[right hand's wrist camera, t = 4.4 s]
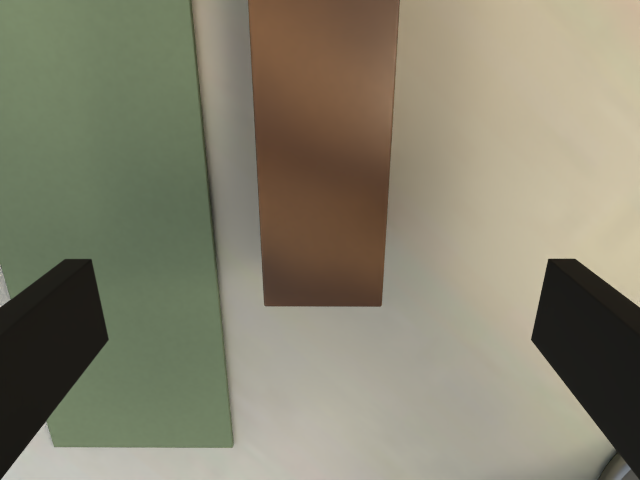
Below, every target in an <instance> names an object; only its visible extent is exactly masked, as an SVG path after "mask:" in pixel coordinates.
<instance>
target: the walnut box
mask: <svg viewBox="0 0 640 480" xmlns="http://www.w3.org/2000/svg"><path fill="white" fill-rule="evenodd" d="M399 4H400V0H248V9H249V28H250V46H251V65H252V84H253V103H254V122H255V140H256V159H257V178H258V197H259V216H260V235H261V253H262V272H263V291H264V305H265V306H375V307H380V306H381V305H382V292H383V275H384V258H385V242H386V225H387V208H388V191H389V174H390V157H391V140H392V123H393V106H394V89H395V72H396V55H397V38H398V21H399Z"/></svg>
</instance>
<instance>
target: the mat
mask: <svg viewBox="0 0 640 480" xmlns="http://www.w3.org/2000/svg"><path fill="white" fill-rule="evenodd" d="M64 259H92V263H93V268H94V272H95V277H96V282H97V286H98V291H99V296H100V301H101V305H102V310H103V315H104V319H105V324H106V329H107V333H108V338H109V340H108V342H107V343H106V344H105V345H104V347H103V348H102V349H101V351H100V352H99V353H98V355H97V356H96V357H95V358H94V360H93V361H92V362H91V364H90V365H89V366H88V367H87V369H86V370H85V371H84V373H83V374H82V375H81V377H80V378H79V379H78V380H77V382H76V383H75V384H74V386H73V387H72V388H71V389H70V391H69V392H68V393H67V395H66V396H65V397H64V399H63V400H62V401H61V402H60V404H59V405H58V406H57V408H56V409H55V410H54V411H53V413H52V414H51V415H50V417H49V418H48V419H47V420H46V421H47V424H48V428H49V431H50V434H51V438H52V441H53V445H54V447H175V448H232V447H233V434H232V424H231V413H230V403H229V392H228V382H227V371H226V360H225V350H224V339H223V329H222V318H221V308H220V297H219V287H218V276H217V266H216V255H215V245H214V234H213V224H212V213H211V203H210V192H209V182H208V171H207V161H206V150H205V140H204V129H203V119H202V108H201V98H200V87H199V77H198V66H197V56H196V45H195V35H194V24H193V14H192V3H191V0H0V264H1V268H2V271H3V274H4V278H5V281H6V285H7V288H8V291H9V295H10V298H11V299H12V298H14V297H15V296H16V295H18V294H19V293H20V292H22V291H23V290H24V289H26V288H27V287H28V286H30V285H31V284H32V283H34V282H35V281H36V280H38V279H39V278H40V277H42V276H43V275H44V274H46V273H47V272H48V271H49V270H51V269H52V268H53V267H55V266H56V265H57V264H59V263H60V262H61V261H63V260H64Z"/></svg>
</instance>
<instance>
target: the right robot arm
mask: <svg viewBox="0 0 640 480" xmlns="http://www.w3.org/2000/svg"><path fill="white" fill-rule="evenodd" d="M108 340H109V338H108V333H107V329H106V324H105V319H104V315H103V310H102V305H101V301H100V296H99V291H98V286H97V282H96V277H95V272H94V268H93V263H92V259H64V260H63V261H61V262H60V263H59V264H57V265H56V266H55V267H53V268H52V269H51V270H49V271H48V272H47V273H46V274H44V275H43V276H42V277H40V278H39V279H38V280H36V281H35V282H34V283H32V284H31V285H30V286H28V287H27V288H26V289H24V290H23V291H22V292H20V293H19V294H18V295H16V296H15V297H14V298H12V299H11V300H10V301H8V302H7V303H6V304H4V305H3V306H2V307H0V480H1V479H2V477H3V476H4V475H5V474H6V472H7V471H8V470H9V468H10V467H11V466H12V464H13V463H14V462H15V461H16V459H17V458H18V457H19V455H20V454H21V453H22V452H23V450H24V449H25V448H26V446H27V445H28V444H29V442H30V441H31V440H32V439H33V437H34V436H35V435H36V433H37V432H38V431H39V430H40V428H41V427H42V426H43V424H44V423H45V422H46V420H47V419H48V418H49V417H50V415H51V414H52V413H53V411H54V410H55V409H56V408H57V406H58V405H59V404H60V402H61V401H62V400H63V399H64V397H65V396H66V395H67V393H68V392H69V391H70V389H71V388H72V387H73V386H74V384H75V383H76V382H77V380H78V379H79V378H80V377H81V375H82V374H83V373H84V371H85V370H86V369H87V367H88V366H89V365H90V364H91V362H92V361H93V360H94V358H95V357H96V356H97V355H98V353H99V352H100V351H101V349H102V348H103V347H104V345H105V344H106V343H107V342H108ZM531 340H532V342H533V343H534V344H535V345H536V347H537V348H538V349H539V351H540V352H541V353H542V355H543V356H544V357H545V358H546V360H547V361H548V362H549V364H550V365H551V366H552V367H553V369H554V370H555V371H556V373H557V374H558V375H559V377H560V378H561V379H562V380H563V382H564V383H565V384H566V386H567V387H568V388H569V389H570V391H571V392H572V393H573V395H574V396H575V397H576V399H577V400H578V401H579V402H580V404H581V405H582V406H583V408H584V409H585V410H586V411H587V413H588V414H589V415H590V417H591V418H592V419H593V421H594V422H595V423H596V424H597V426H598V427H599V428H600V430H601V431H602V432H603V433H604V435H605V436H606V437H607V439H608V440H609V441H610V442H611V444H612V445H613V446H614V448H615V449H616V450H617V452H618V453H617V454H616V455H615V456H614V457H613V458H612V460H611V461H610V462H609V463H608V464H607V466H606V467H605V469H604V470H603V472H602V474H601V476H600V478H599V480H640V307H638V306H637V305H636V304H634V303H633V302H632V301H630V300H629V299H628V298H626V297H625V296H624V295H622V294H621V293H620V292H618V291H617V290H616V289H614V288H613V287H612V286H610V285H609V284H608V283H606V282H605V281H604V280H602V279H601V278H600V277H598V276H597V275H596V274H594V273H593V272H592V271H591V270H589V269H588V268H587V267H585V266H584V265H583V264H581V263H580V262H579V261H577V260H576V259H548V263H547V268H546V272H545V277H544V282H543V286H542V291H541V296H540V300H539V305H538V310H537V315H536V319H535V324H534V329H533V333H532V338H531Z"/></svg>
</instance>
